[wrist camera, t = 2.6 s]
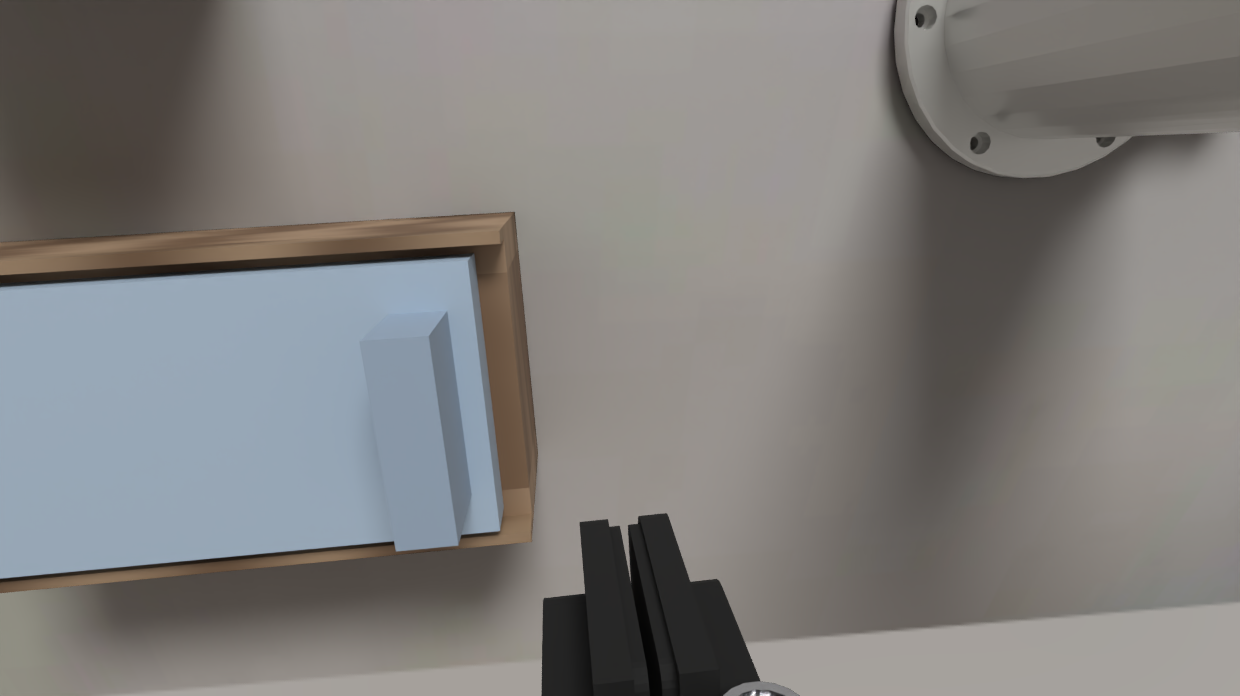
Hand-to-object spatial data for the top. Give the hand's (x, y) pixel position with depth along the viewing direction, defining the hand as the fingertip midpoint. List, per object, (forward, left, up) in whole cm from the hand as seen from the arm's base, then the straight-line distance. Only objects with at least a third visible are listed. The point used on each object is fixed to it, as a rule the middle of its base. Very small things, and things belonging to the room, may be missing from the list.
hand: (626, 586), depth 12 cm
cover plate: (+13, 0, -11) cm, 17 cm away
